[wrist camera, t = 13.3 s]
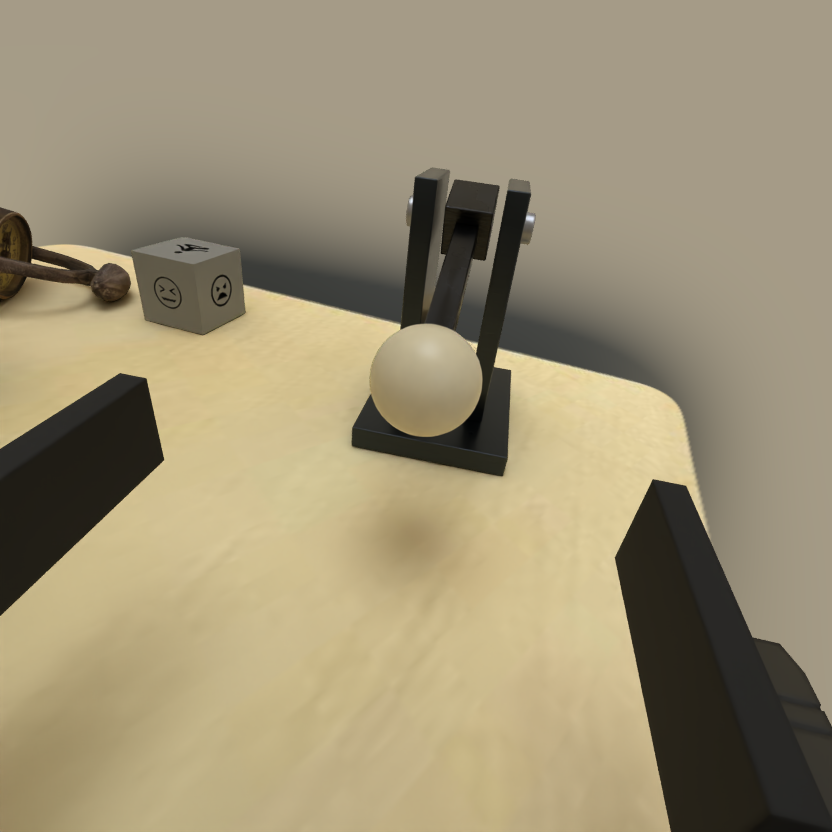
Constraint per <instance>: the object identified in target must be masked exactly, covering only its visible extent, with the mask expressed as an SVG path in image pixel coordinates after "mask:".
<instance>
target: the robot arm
mask: <svg viewBox="0 0 832 832" xmlns="http://www.w3.org/2000/svg"><path fill="white" fill-rule="evenodd" d="M163 461H164V457H163V452H162V448H161V443H160V439H159V434H158V429H157V425H156V420H155V416H154V411H153V406H152V402H151V397H150V393H149V388H148V384H147V379H146V378H142V377H137V376H131V375H126V374H121V373H120V374H118V375H116V376H115V377H113V378H112V379H110V380H108V381H107V382H105V383H104V384H102V385H101V386H99V387H97V388H96V389H94V390H93V391H91V392H90V393H88V394H86V395H85V396H83V397H82V398H80V399H78V400H77V401H75V402H74V403H72V404H71V405H69V406H67V407H66V408H64V409H63V410H61V411H59V412H58V413H56V414H55V415H53V416H52V417H50V418H48V419H47V420H45V421H44V422H42V423H40V424H39V425H37V426H36V427H34V428H33V429H31V430H29V431H28V432H26V433H25V434H23V435H22V436H20V437H18V438H17V439H15V440H14V441H12V442H10V443H9V444H7V445H6V446H4V447H3V448H1V449H0V616H1V615H2V614H3V613H4V612H5V611H6V610H7V609H8V608H9V607H10V606H11V605H12V604H13V603H14V602H15V601H17V600H18V599H19V598H20V597H21V596H22V595H23V594H24V593H25V592H26V591H27V590H28V589H29V588H30V587H31V586H32V585H33V584H34V583H35V582H36V581H38V580H39V579H40V578H41V577H42V576H43V575H44V574H45V573H46V572H47V571H48V570H49V569H50V568H51V567H52V566H53V565H54V564H55V563H56V562H58V561H59V560H60V559H61V558H62V557H63V556H64V555H65V554H66V553H67V552H68V551H69V550H70V549H71V548H72V547H73V546H74V545H75V544H76V543H78V542H79V541H80V540H81V539H82V538H83V537H84V536H85V535H86V534H87V533H88V532H89V531H90V530H91V529H92V528H93V527H94V526H95V525H96V524H97V523H99V522H100V521H101V520H102V519H103V518H104V517H105V516H106V515H107V514H108V513H109V512H110V511H111V510H112V509H113V508H114V507H115V506H116V505H117V504H119V503H120V502H121V501H122V500H123V499H124V498H125V497H126V496H127V495H128V494H129V493H130V492H131V491H132V490H133V489H134V488H135V487H136V486H137V485H139V484H140V483H141V482H142V481H143V480H144V479H145V478H146V477H147V476H148V475H149V474H150V473H151V472H152V471H153V470H154V469H155V468H156V467H157V466H158V465H160V464H161V463H162V462H163ZM615 561H616V565H617V570H618V575H619V580H620V585H621V590H622V595H623V600H624V605H625V609H626V614H627V619H628V624H629V629H630V634H631V639H632V644H633V648H634V653H635V658H636V663H637V668H638V673H639V678H640V683H641V688H642V692H643V697H644V702H645V707H646V712H647V717H648V722H649V727H650V731H651V736H652V741H653V746H654V751H655V756H656V761H657V766H658V771H659V775H660V780H661V785H662V790H663V795H664V800H665V805H666V810H667V814H668V819H669V824H670V829H671V832H832V726H831V724H830V722H829V720H828V718H827V716H826V714H825V712H824V711H821V709H820V706H821V704H820V702H819V700H818V698H817V696H816V694H815V692H814V690H813V688H812V687H811V685H810V682H809V680H808V678H807V676H806V675H805V673H804V672H803V671H802V669H801V668H800V667H799V666H798V665H797V663H796V662H795V661H794V660H793V659H792V658H791V657H790V655H789V654H788V653H787V652H786V651H785V649H784V648H783V647H782V646H781V645H780V644H779V643H774V642H770V641H766V640H761V639H757V638H752V636H751V633H750V631H749V629H748V626H747V624H746V622H745V620H744V617H743V615H742V612H741V610H740V608H739V606H738V603H737V601H736V599H735V597H734V594H733V592H732V590H731V587H730V585H729V583H728V581H727V578H726V576H725V574H724V571H723V569H722V567H721V565H720V562H719V560H718V558H717V556H716V553H715V551H714V549H713V546H712V544H711V542H710V539H709V537H708V535H707V533H706V530H705V528H704V526H703V523H702V521H701V519H700V517H699V514H698V512H697V510H696V507H695V505H694V503H693V501H692V498H691V496H690V494H689V491H688V489H687V487H686V486H684V485H679V484H674V483H669V482H664V481H659V480H654V479H653V480H652V482H651V484H650V486H649V488H648V491H647V493H646V495H645V497H644V499H643V501H642V503H641V505H640V507H639V509H638V511H637V513H636V515H635V517H634V519H633V521H632V524H631V526H630V528H629V530H628V532H627V534H626V536H625V538H624V540H623V542H622V544H621V546H620V548H619V550H618V552H617V554H616V557H615Z"/></svg>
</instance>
